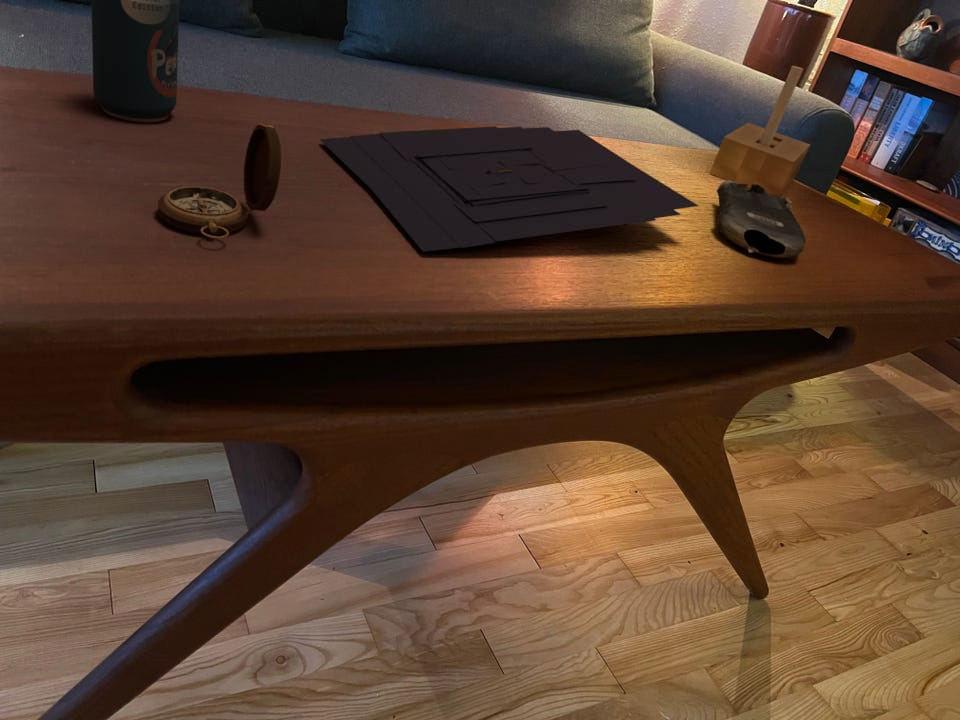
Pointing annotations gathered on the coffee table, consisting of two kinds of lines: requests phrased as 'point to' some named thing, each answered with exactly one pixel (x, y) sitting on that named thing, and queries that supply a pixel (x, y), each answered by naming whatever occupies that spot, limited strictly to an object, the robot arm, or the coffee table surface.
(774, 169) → the pen holder
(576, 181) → the papers
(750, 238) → the electronic device
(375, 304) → the coffee table surface
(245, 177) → the compass
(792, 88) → the stylus
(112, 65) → the soda can
